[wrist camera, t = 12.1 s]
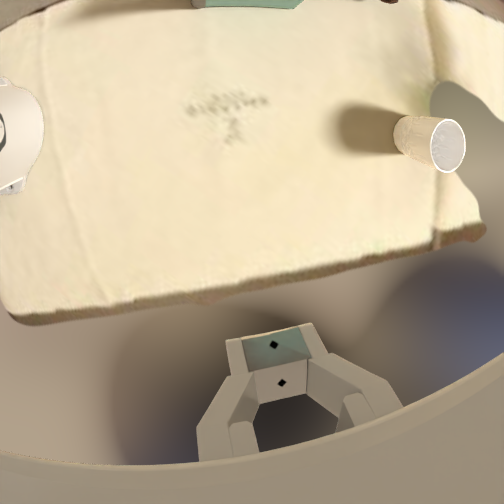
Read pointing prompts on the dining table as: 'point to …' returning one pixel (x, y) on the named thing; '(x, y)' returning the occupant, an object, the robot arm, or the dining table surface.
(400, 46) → the dining table surface
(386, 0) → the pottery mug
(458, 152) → the white cup
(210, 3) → the teal square slab
